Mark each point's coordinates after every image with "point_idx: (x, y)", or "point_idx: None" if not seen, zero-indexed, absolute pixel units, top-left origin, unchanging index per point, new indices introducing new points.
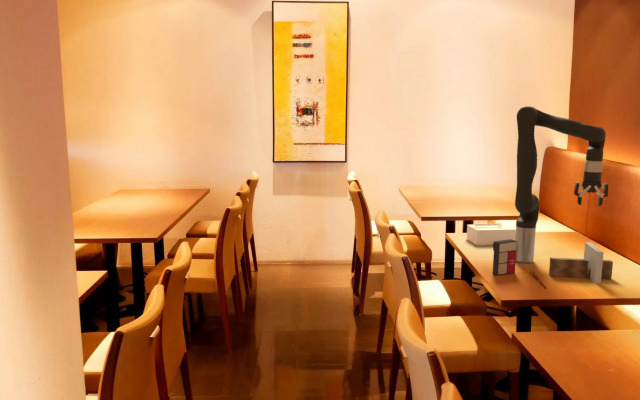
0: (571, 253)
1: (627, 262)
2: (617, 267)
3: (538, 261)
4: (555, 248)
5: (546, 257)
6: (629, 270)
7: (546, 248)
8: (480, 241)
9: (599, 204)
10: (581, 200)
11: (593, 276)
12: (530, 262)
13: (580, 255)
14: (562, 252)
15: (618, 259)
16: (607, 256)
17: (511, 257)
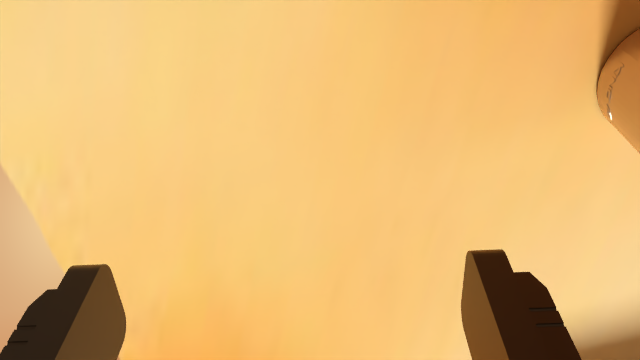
0: (311, 291)
1: (25, 189)
2: (83, 63)
3: (562, 83)
4: (374, 357)
5: (478, 185)
6: (9, 6)
7: (421, 348)
8: None
9: (90, 279)
10: (497, 315)
11: None
12: (637, 30)
13: (270, 266)
14: (356, 299)
15: (73, 237)
16: (128, 279)
17: None
